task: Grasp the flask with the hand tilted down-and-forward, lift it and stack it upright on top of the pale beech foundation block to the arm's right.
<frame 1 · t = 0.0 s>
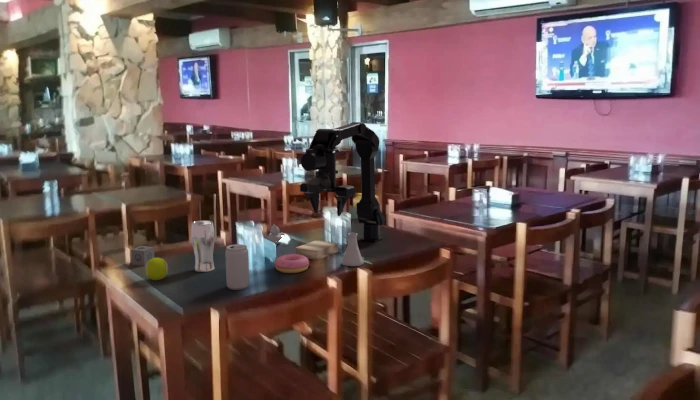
hand: (327, 214, 196), 15 cm above the table, tool pointing down, fingers open, 9 cm apart
beverage can: (238, 287, 169), on the table
foundation block: (316, 253, 203), on the table
dice cube: (143, 263, 193), on the table
beer glass: (204, 269, 186), on the table
flask: (352, 264, 192), on the table
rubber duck: (276, 244, 217), on the table
tennis ball: (157, 280, 176), on the table
doughnut: (292, 270, 186), on the table
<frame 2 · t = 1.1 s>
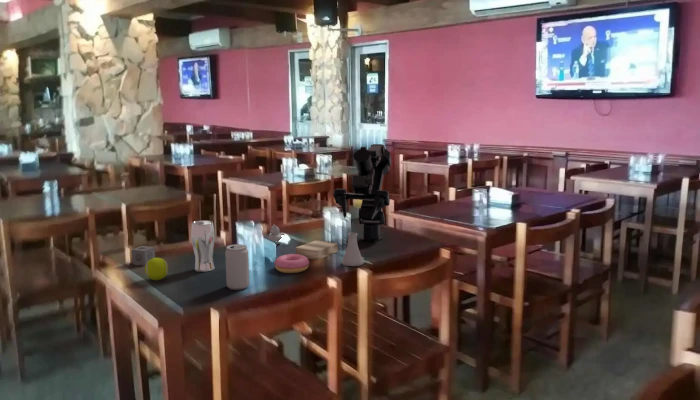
hand: (357, 218, 197), 13 cm above the table, tool tilted 45°, fingers open, 9 cm apart
nothing on the table moved.
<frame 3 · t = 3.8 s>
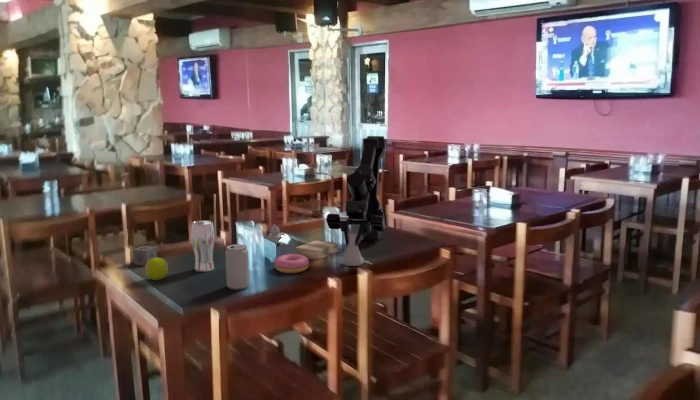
hand: (351, 244, 189), 7 cm above the table, tool tilted 45°, fingers closed on flask, 3 cm apart
flask: (352, 264, 192), on the table, touching gripper
everything else where it was.
when the fingers open (11 cm above the table, at t = 6.6 s): flask stays where it is, resting on foundation block.
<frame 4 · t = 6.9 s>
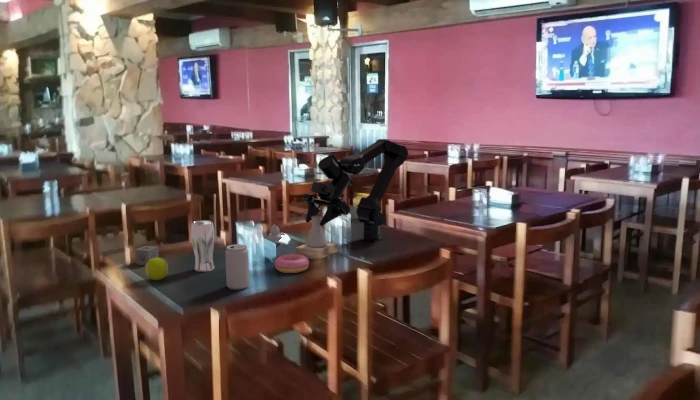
hand: (313, 223, 200), 11 cm above the table, tool tilted 45°, fingers open, 7 cm apart
flask: (316, 245, 203), point 3 cm above the table, touching foundation block
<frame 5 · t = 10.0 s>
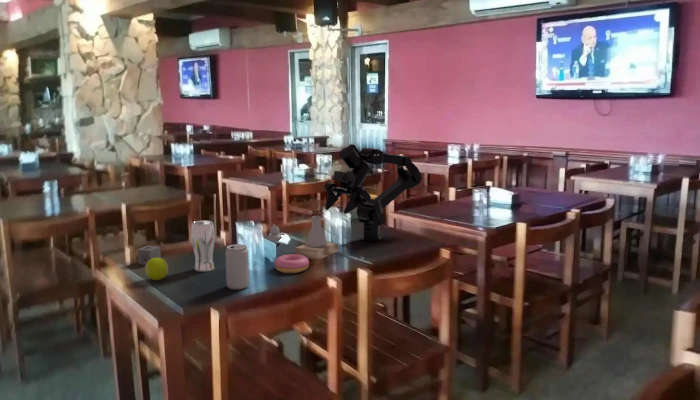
hand: (335, 211, 207), 14 cm above the table, tool tilted 45°, fingers open, 9 cm apart
at the end: flask inside the target area on the foundation block (0.3 cm from its centre), point 2.8 cm above the foundation block's base; flask tilted 0°; the gripper is holding nothing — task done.
